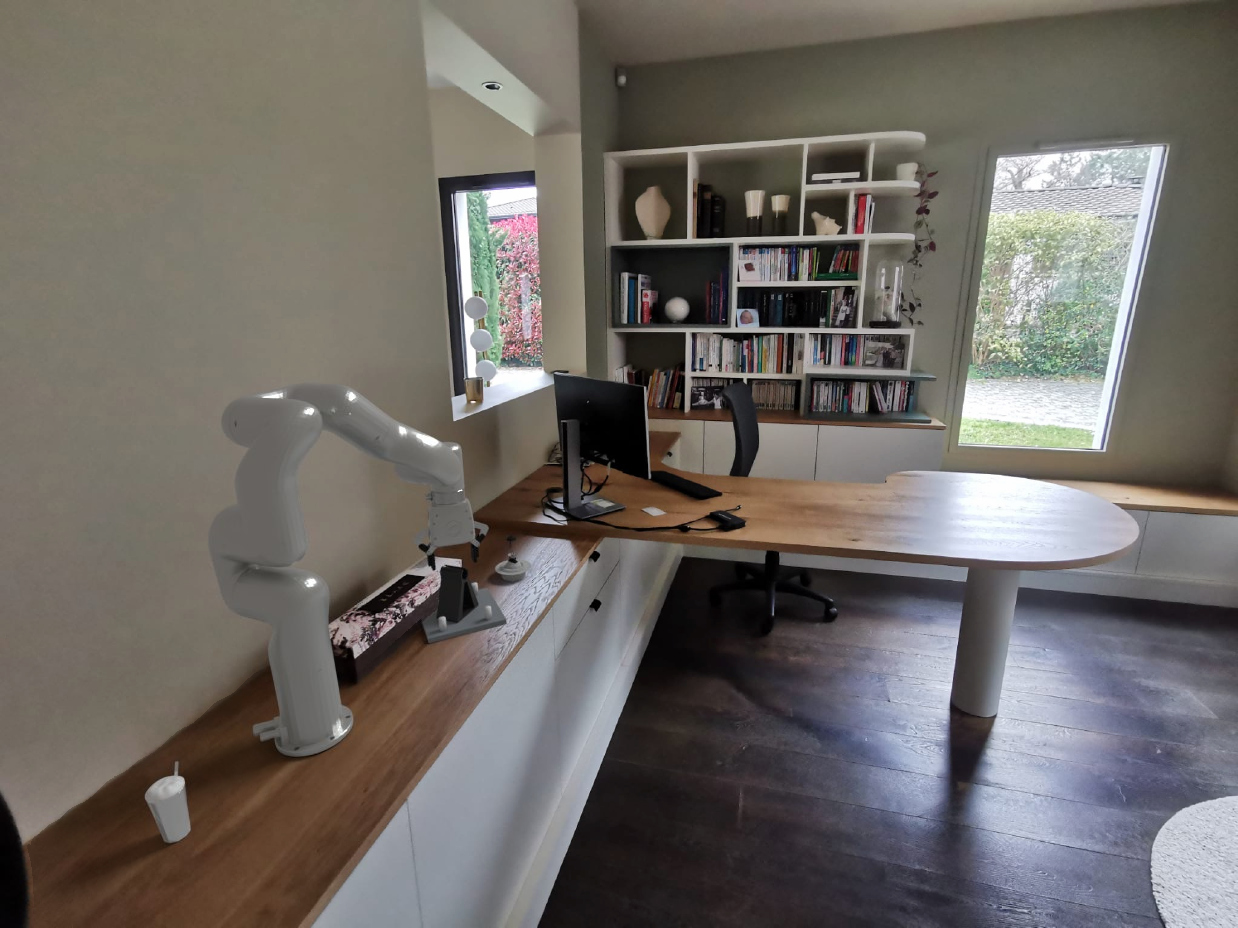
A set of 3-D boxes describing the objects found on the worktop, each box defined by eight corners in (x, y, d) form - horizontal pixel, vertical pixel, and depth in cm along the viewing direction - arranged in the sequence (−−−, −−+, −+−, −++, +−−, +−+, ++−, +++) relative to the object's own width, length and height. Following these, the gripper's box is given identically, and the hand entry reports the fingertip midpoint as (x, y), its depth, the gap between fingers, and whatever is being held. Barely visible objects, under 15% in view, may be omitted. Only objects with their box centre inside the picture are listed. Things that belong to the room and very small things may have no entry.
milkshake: (206, 815, 90) (192, 760, 87) (183, 846, 85) (167, 789, 82) (176, 816, 90) (161, 761, 87) (150, 848, 84) (133, 791, 82)
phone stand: (457, 623, 140) (453, 576, 136) (436, 619, 142) (431, 573, 138) (479, 605, 148) (475, 560, 145) (458, 601, 150) (454, 557, 147)
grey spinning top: (537, 532, 164) (510, 525, 169) (511, 544, 156) (484, 537, 161) (539, 573, 167) (513, 565, 173) (514, 587, 159) (488, 578, 165)
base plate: (428, 643, 134) (426, 626, 133) (416, 607, 149) (415, 592, 148) (506, 623, 142) (505, 607, 140) (487, 591, 157) (486, 577, 156)
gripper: (411, 506, 130) (418, 577, 134) (489, 495, 137) (494, 563, 142) (407, 496, 137) (413, 565, 141) (481, 486, 144) (486, 552, 148)
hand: (454, 564), depth 141 cm, fingers open, 9 cm apart
